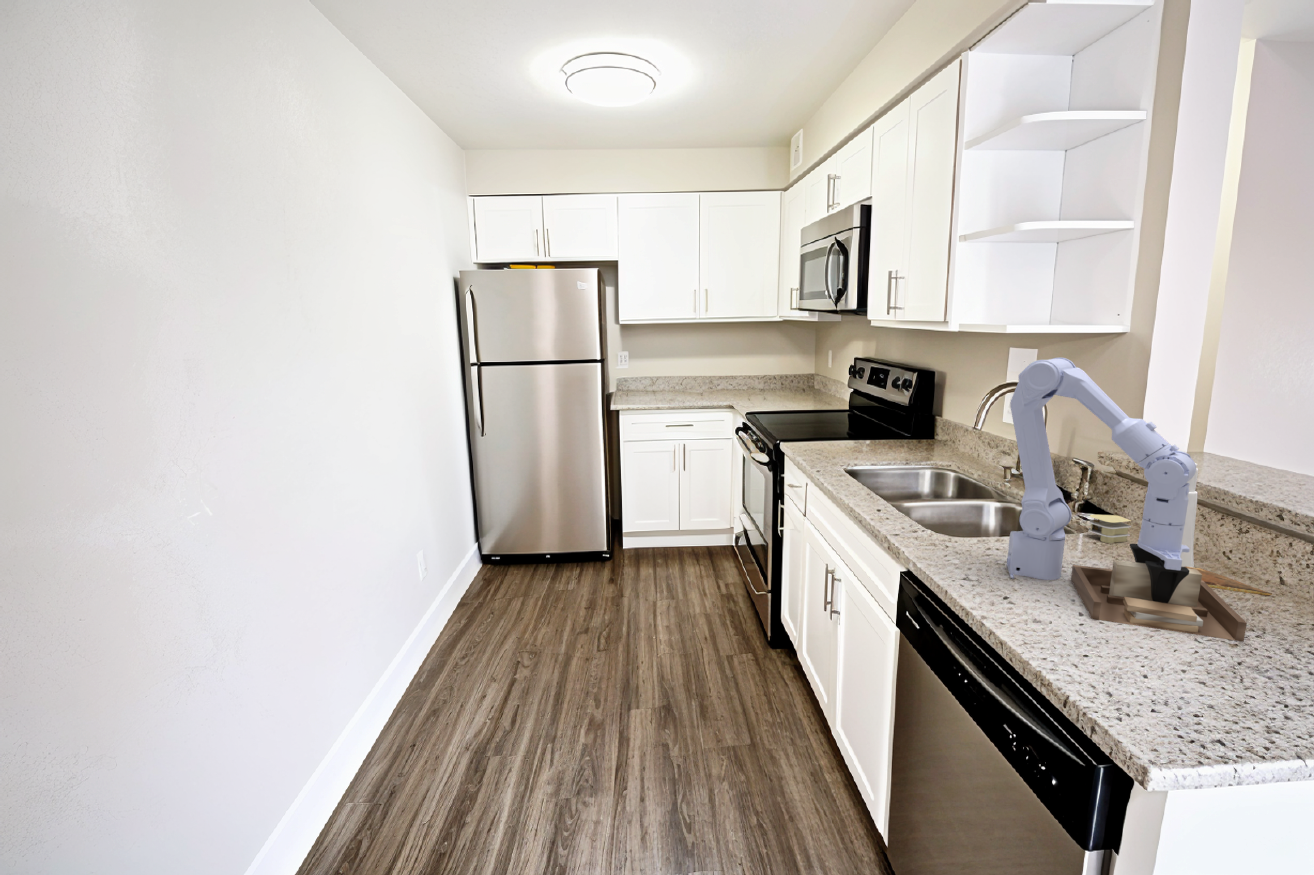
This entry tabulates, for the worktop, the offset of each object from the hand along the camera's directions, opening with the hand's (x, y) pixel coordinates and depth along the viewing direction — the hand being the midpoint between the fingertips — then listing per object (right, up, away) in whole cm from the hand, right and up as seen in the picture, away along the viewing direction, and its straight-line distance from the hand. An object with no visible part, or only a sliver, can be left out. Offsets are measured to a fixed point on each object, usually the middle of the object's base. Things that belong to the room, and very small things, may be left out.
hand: (1152, 592), depth 108 cm
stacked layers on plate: (+17, +3, +34) cm, 38 cm away
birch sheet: (0, -2, 0) cm, 2 cm away
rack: (-2, -3, -1) cm, 4 cm away
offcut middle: (-4, -3, -7) cm, 8 cm away
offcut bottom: (-4, -3, -6) cm, 8 cm away
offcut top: (-5, -2, -7) cm, 8 cm away
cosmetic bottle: (+20, +1, +19) cm, 28 cm away
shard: (+20, -1, +10) cm, 22 cm away
